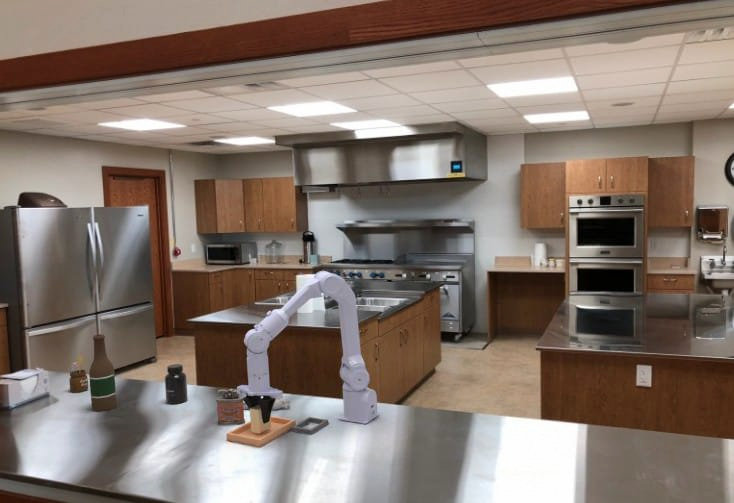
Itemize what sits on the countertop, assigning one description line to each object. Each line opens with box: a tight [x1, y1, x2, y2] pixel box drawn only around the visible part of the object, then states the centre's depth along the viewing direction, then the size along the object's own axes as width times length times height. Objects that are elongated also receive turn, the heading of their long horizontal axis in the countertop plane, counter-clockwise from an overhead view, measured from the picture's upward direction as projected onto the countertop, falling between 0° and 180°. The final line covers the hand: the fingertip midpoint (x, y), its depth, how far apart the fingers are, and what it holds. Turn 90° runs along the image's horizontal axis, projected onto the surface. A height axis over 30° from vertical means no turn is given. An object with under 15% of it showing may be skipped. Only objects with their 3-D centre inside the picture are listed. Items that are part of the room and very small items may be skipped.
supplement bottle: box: [164, 363, 188, 405], centre depth 195 cm, size 7×7×12 cm
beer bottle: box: [88, 333, 117, 412], centre depth 191 cm, size 8×8×24 cm
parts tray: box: [225, 415, 297, 448], centre depth 164 cm, size 12×16×2 cm
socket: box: [291, 416, 329, 436], centre depth 166 cm, size 7×9×1 cm
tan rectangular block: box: [249, 404, 272, 433], centre depth 163 cm, size 3×5×6 cm, turn 151°
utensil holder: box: [68, 355, 89, 394], centre depth 212 cm, size 6×6×12 cm
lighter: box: [215, 388, 246, 426], centre depth 173 cm, size 8×3×10 cm, turn 84°
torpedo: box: [243, 399, 291, 411], centre depth 184 cm, size 18×5×6 cm, turn 81°
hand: (261, 421), depth 163 cm, fingers closed on tan rectangular block, 3 cm apart
